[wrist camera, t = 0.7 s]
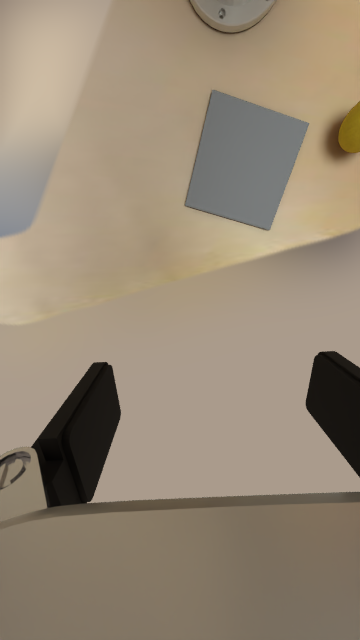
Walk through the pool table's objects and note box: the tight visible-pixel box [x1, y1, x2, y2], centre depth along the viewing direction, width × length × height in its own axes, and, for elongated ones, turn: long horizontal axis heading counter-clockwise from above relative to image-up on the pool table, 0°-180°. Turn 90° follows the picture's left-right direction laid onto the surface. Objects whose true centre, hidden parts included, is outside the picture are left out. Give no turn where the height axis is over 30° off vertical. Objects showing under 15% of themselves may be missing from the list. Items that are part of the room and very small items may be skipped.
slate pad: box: [185, 90, 309, 230], centre depth 30 cm, size 14×14×1 cm
